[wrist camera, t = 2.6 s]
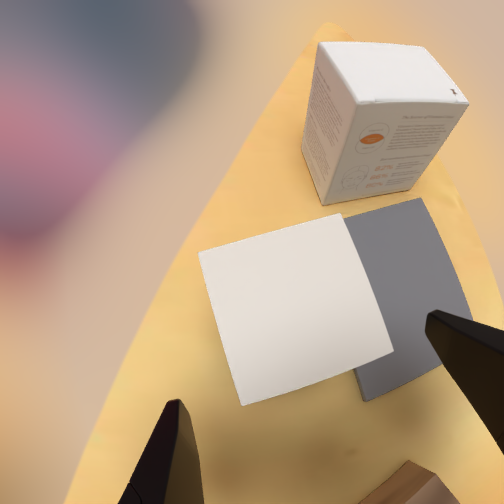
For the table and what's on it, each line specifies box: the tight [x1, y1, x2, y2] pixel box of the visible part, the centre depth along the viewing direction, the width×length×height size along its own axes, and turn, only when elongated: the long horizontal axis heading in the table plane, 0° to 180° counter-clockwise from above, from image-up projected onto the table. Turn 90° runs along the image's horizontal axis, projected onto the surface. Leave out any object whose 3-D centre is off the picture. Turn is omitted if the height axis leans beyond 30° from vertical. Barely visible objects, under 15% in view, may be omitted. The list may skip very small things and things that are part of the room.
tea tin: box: [198, 213, 394, 406], centre depth 15 cm, size 5×5×10 cm
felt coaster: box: [343, 198, 473, 402], centre depth 20 cm, size 12×10×1 cm
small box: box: [301, 42, 469, 205], centre depth 19 cm, size 8×6×10 cm
